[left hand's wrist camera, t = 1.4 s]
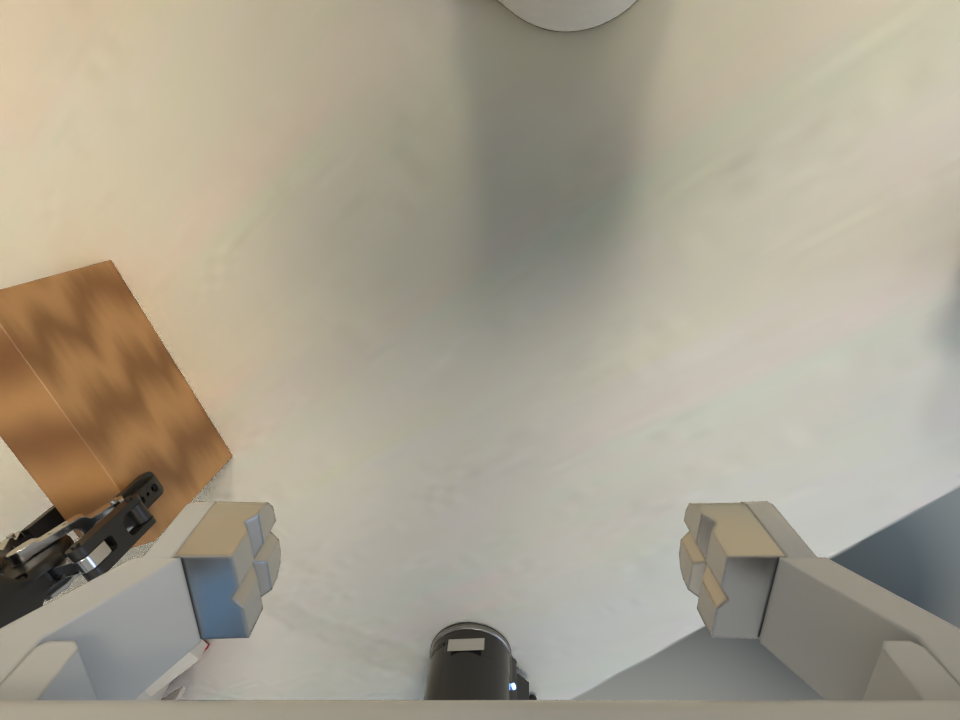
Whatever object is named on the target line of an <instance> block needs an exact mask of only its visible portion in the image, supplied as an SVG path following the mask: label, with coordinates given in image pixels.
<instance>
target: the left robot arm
mask: <svg viewBox="0 0 960 720" xmlns="http://www.w3.org/2000/svg"><path fill="white" fill-rule="evenodd" d="M498 1H499V2H501V3H502V4H503V5H504V6H505V7H507V8H508V9H509V10H510V11H512V12H513V13H514V14H515V15H517V16H518V17H520V18H521V19H523V20H525V21H527V22H529V23H531V24H533V25H535V26H538V27H541V28H545V29H549V30H554V31H579V30H585V29H589V28H592V27H596V26H598V25H601V24H603V23H606V22H608V21H610V20H611V19H613V18H615V17H617V16H618V15H620V14H621V13H623V12H624V11H625V10H627V9H628V8H629V7H630V6H631V5H632V4H634V3H635V2H636V1H637V0H498ZM275 521H276V519H275V514H274V509H273V506H272V505H271V504H269V503H258V502H192V503H189V504H187V505H186V506H185V507H184V508H183V510H182V511H181V512H180V513H179V514H178V515H177V517H176V518H175V519H174V520H173V521H172V523H171V524H170V525H169V526H168V527H167V529H166V530H165V531H164V532H163V533H162V535H161V536H160V537H159V538H158V539H157V541H156V542H155V543H154V544H153V545H152V547H151V548H150V549H149V550H148V551H147V553H146V554H145V555H144V556H143V557H142V558H132V559H130V560H129V561H127V562H125V563H123V564H121V565H119V566H117V567H115V568H113V569H112V570H110V571H108V572H106V573H104V574H102V575H100V576H98V577H96V578H95V579H93V580H91V581H89V582H87V583H85V584H83V585H81V586H79V587H78V588H76V589H74V590H72V591H70V592H68V593H66V594H64V595H62V596H61V597H59V598H57V599H55V600H53V601H51V602H49V603H47V604H45V605H44V606H42V607H40V608H38V609H36V610H34V611H32V612H30V613H28V614H27V615H25V616H23V617H21V618H19V619H17V620H15V621H13V622H11V623H10V624H8V625H6V626H4V627H2V628H0V720H960V629H959V628H957V627H955V626H954V625H952V624H950V623H948V622H946V621H944V620H942V619H940V618H938V617H937V616H935V615H933V614H931V613H929V612H927V611H925V610H923V609H922V608H920V607H918V606H916V605H914V604H912V603H910V602H908V601H906V600H905V599H903V598H901V597H899V596H897V595H895V594H893V593H891V592H890V591H888V590H886V589H884V588H882V587H880V586H878V585H876V584H874V583H873V582H871V581H869V580H867V579H865V578H863V577H861V576H859V575H857V574H856V573H854V572H852V571H850V570H848V569H846V568H844V567H842V566H841V565H839V564H837V563H835V562H833V561H831V560H829V559H827V558H817V556H816V555H815V554H814V553H813V552H812V550H811V549H810V548H809V547H808V546H807V544H806V543H805V542H804V541H803V540H802V539H801V537H800V536H799V535H798V534H797V533H796V531H795V530H794V529H793V528H792V527H791V525H790V524H789V523H788V522H787V521H786V519H785V518H784V517H783V516H782V515H781V513H780V512H779V511H778V510H777V509H776V508H775V506H774V505H773V504H771V503H769V502H767V501H759V502H741V503H689V505H688V507H687V509H686V512H685V518H684V522H685V524H686V525H687V527H688V529H689V532H688V533H687V534H686V535H685V536H684V537H683V538H682V539H681V542H680V550H679V559H680V569H681V573H682V576H683V580H684V582H685V584H686V586H687V588H688V590H689V591H691V592H692V593H693V594H695V595H696V596H698V597H699V599H698V604H697V610H698V612H699V614H700V616H701V618H702V620H703V622H704V624H705V626H706V628H707V630H708V632H709V634H710V636H711V638H740V639H759V642H760V643H761V644H762V645H763V646H765V647H766V648H767V649H768V650H769V651H770V652H771V653H773V654H774V655H775V656H776V657H777V658H778V659H779V660H781V661H782V662H783V663H784V664H785V665H786V666H788V667H789V668H790V669H791V670H792V671H793V672H794V673H796V674H797V675H798V676H799V677H800V678H801V679H802V680H804V681H805V682H806V683H807V684H808V685H809V686H811V687H812V688H813V689H814V690H815V691H816V692H817V693H819V694H820V695H821V696H822V697H823V698H824V699H825V700H134V699H136V698H137V697H138V696H139V695H140V694H141V693H143V692H144V691H145V690H146V689H147V688H148V687H149V686H151V685H152V684H153V683H154V682H155V681H156V680H158V679H159V678H160V677H161V676H162V675H163V674H164V673H166V672H167V671H168V670H169V669H170V668H171V667H172V666H174V665H175V664H176V663H177V662H178V661H179V660H181V659H182V658H183V657H184V656H185V655H186V654H187V653H189V652H190V651H191V650H192V649H193V648H194V647H196V646H197V645H198V644H199V643H200V642H201V639H220V638H249V636H250V634H251V632H252V630H253V628H254V626H255V624H256V622H257V620H258V617H259V615H260V613H261V611H262V609H263V606H262V600H261V597H262V596H264V595H265V594H266V593H268V592H269V591H270V590H272V588H273V586H274V583H275V581H276V579H277V576H278V571H279V567H280V555H281V550H280V543H279V539H278V538H277V537H276V536H275V535H274V534H273V533H272V532H271V529H272V527H273V525H274V523H275Z"/></svg>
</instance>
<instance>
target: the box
mask: <svg viewBox="0 0 960 720" xmlns="http://www.w3.org/2000/svg"><path fill="white" fill-rule="evenodd" d="M0 436H1V438H2V439H3V440H4V442H5V443H6V444H7V445H8V447H9V448H10V449H11V451H12V452H13V453H14V454H15V456H16V457H17V458H18V460H19V461H20V462H21V464H22V465H23V466H24V467H25V469H26V470H27V471H28V473H29V474H30V475H31V476H32V478H33V479H34V480H35V482H36V483H37V484H38V485H39V487H40V488H41V489H42V491H43V492H44V493H45V494H46V496H47V497H48V498H49V500H50V501H51V502H52V504H53V505H54V506H55V507H56V509H57V510H58V511H59V513H60V514H61V515H62V516H63V518H64V519H65V520H68V519H70V518H71V517H73V516H74V515H76V514H85V515H89V514H91V513H92V512H94V511H95V510H97V509H99V508H100V507H102V506H103V505H105V504H106V503H108V502H109V501H110V500H111V499H113V498H114V497H115V496H117V495H118V494H119V493H120V492H121V491H122V490H123V489H124V488H125V487H127V486H128V485H129V484H130V483H131V482H132V481H133V480H134V479H136V478H137V477H138V476H139V475H140V474H143V473H145V472H149V471H150V472H152V473H153V474H154V475H155V476H156V478H157V479H158V481H159V482H160V483H161V485H162V486H163V489H164V492H163V494H162V495H161V496H160V497H159V498H158V499H157V500H156V501H155V502H154V503H153V504H152V505H151V506H150V507H149V508H148V510H149V512H150V513H151V515H153V516H154V518H155V519H156V523H155V524H154V525H153V526H152V527H151V528H150V529H149V530H148V531H147V532H146V533H145V534H144V535H143V536H142V537H141V538H140V539H139V540H138V541H137V542H136V543H135V544H134V545H133V546H132V547H131V548H133V547H136V546H139V545H143V544H146V543H149V542H152V541H155V540H156V539H157V538H158V537H159V536H160V535H161V534H162V533H163V532H164V530H165V529H166V528H167V527H168V526H169V525H170V524H171V523H172V521H173V520H174V519H175V518H176V517H177V515H178V514H179V513H180V512H181V511H182V510H183V508H184V507H185V506H186V505H187V504H189V503H190V502H191V501H192V500H193V499H194V498H195V497H196V495H197V494H198V493H199V492H200V491H201V490H202V489H203V488H204V487H205V486H206V484H207V483H208V482H209V481H210V480H211V479H212V478H213V477H214V476H215V475H216V474H217V472H218V471H219V470H220V469H221V468H222V467H223V466H224V465H225V464H226V463H227V462H228V460H229V459H230V458H231V457H232V455H231V453H230V451H229V450H228V448H227V447H226V445H225V443H224V442H223V440H222V438H221V437H220V435H219V434H218V432H217V430H216V429H215V427H214V426H213V424H212V422H211V421H210V419H209V417H208V416H207V414H206V413H205V411H204V409H203V408H202V406H201V405H200V403H199V401H198V400H197V398H196V397H195V395H194V393H193V392H192V390H191V388H190V387H189V385H188V384H187V382H186V380H185V379H184V377H183V376H182V374H181V372H180V371H179V369H178V368H177V366H176V364H175V363H174V361H173V359H172V358H171V356H170V355H169V353H168V351H167V350H166V348H165V347H164V345H163V343H162V342H161V340H160V339H159V337H158V335H157V334H156V332H155V330H154V329H153V327H152V326H151V324H150V322H149V321H148V319H147V318H146V316H145V314H144V313H143V311H142V309H141V308H140V306H139V305H138V303H137V301H136V300H135V298H134V297H133V295H132V293H131V292H130V290H129V289H128V287H127V285H126V284H125V282H124V280H123V279H122V277H121V276H120V274H119V272H118V271H117V269H116V268H115V266H114V264H113V263H112V261H111V260H109V261H106V262H102V263H98V264H94V265H91V266H87V267H83V268H79V269H76V270H72V271H68V272H65V273H61V274H57V275H53V276H50V277H46V278H42V279H38V280H35V281H31V282H27V283H23V284H20V285H16V286H12V287H9V288H5V289H1V290H0ZM102 519H103V518H102ZM102 519H101V520H102ZM101 520H99V521H101ZM99 521H98V522H99ZM98 522H97V523H98ZM97 523H96V524H97ZM96 524H95V525H96ZM73 531H74V532H75V533H76V534H77V536H78V537H82V536H84V535H83V534H82V532H81V531H80V530H73Z"/></svg>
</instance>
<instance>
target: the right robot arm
mask: <svg viewBox="0 0 960 720" xmlns="http://www.w3.org/2000/svg"><path fill="white" fill-rule="evenodd" d="M163 492H164V489H163V486H162V485H161V483H160V482H159V481H158V479H157V478H156V476H155V475H154V474H153V473H152V472H150V471H149V472H145V473H143V474H140V475H139V476H138V477H137V478H136V479H134V480H133V481H132V482H131V483H130V484H129V485H128V486H127V487H125V488H124V489H123V490H122V491H121V492H120V493H119V494H118V495H117V496H115V497H114V498H113V499H111V500H110V501H109V502H108V503H106V504H105V505H103V506H102V507H100V508H99V509H97V510H95V511H94V512H92V513H91V514H89V515H85V514H76V515H74V516H73V517H71V518H70V519H68V520H65V519H64V518H63V516H62V515H61V514H60V513H59V511H58V510H57V509H56V507H55V506H54V505H53V506H52V507H51V508H50V509H48V510H47V511H46V512H45V513H43V514H42V515H41V516H39V517H38V518H37V519H36V520H34V521H33V522H32V523H31V524H29V525H28V526H27V527H26V528H24V529H23V530H22V531H21V532H22V533H21V532H20V531H18V532H16V533H12V534H10V535H8V536H7V537H6V539H4V540H3V541H2V542H1V543H0V628H2V627H4V626H6V625H8V624H10V623H11V622H13V621H15V620H17V619H19V618H21V617H23V616H25V615H27V614H28V613H30V612H32V611H34V610H36V609H38V608H40V607H42V606H43V602H44V601H48V600H50V599H52V598H53V597H55V596H56V595H58V594H59V593H61V592H62V591H64V590H65V589H66V588H68V587H69V586H70V584H71V582H72V580H73V579H75V578H76V577H77V576H79V575H80V574H82V575H83V576H84V577H85V579H86V580H87V581H88V582H89V581H91V580H93V579H95V578H96V577H98V576H100V575H102V574H104V573H106V572H108V571H109V570H110V569H111V568H112V567H113V566H114V564H115V563H116V562H117V561H118V560H119V559H120V558H121V557H122V556H123V555H124V554H125V553H126V552H127V551H128V550H129V549H130V548H131V547H132V546H133V545H134V544H135V543H136V542H137V541H138V540H139V539H140V538H141V537H142V536H143V535H144V534H145V533H146V532H147V531H148V530H149V529H150V528H151V527H152V526H153V525H154V524H155V523H156V519H155V518H154V516H153V515H151V513H150V512H149V510H148V508H149V507H150V506H151V505H152V504H153V503H154V502H155V501H156V500H157V499H158V498H159V497H160V496H161V495H162V494H163ZM102 518H103V519H102ZM101 519H102V520H101ZM99 520H101V521H99ZM98 521H99V522H98ZM97 522H98V523H97ZM96 523H97V524H96ZM95 524H96V525H95ZM73 530H80V531H81V532H82V534H83V535H84V536H82V537H79V538H77V539H76V540H75V541H73V540H72V539H71V537H70V536H68V535H66V534H67V533H69V532H71V531H73ZM536 699H537V698H536V696H535V695H532V694H531V695H530V697H529V682H528V681H526V680H525V679H524V678H522V677H521V676H520V675H519V674H517V663H516V660H514V659H513V658H512V657H511V649H510V646H509V644H508V642H507V641H506V639H505V638H504V637H503V636H502V635H501V634H500V633H498V632H497V631H495V630H494V629H492V628H489V627H487V626H484V625H480V624H473V623H464V624H457V625H454V626H451V627H448V628H446V629H445V630H443V631H442V632H440V633H439V634H438V635H437V636H436V638H435V639H434V641H433V643H432V646H431V652H430V664H429V670H428V676H427V682H426V689H425V695H424V700H536Z"/></svg>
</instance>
